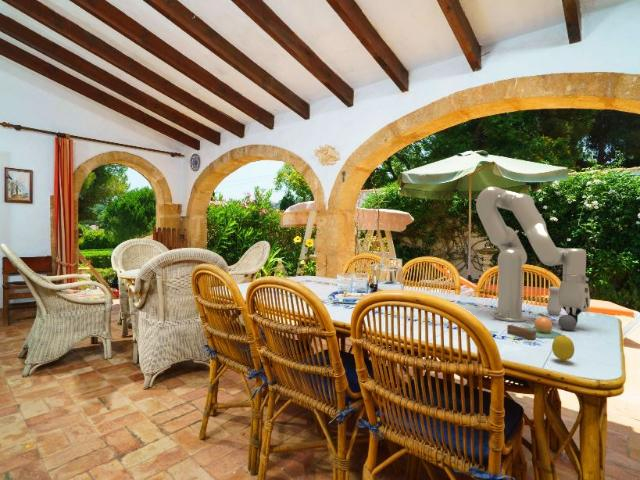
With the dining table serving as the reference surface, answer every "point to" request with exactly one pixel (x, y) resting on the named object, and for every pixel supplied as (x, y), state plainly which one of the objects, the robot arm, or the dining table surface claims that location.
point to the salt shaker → (553, 301)
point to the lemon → (563, 348)
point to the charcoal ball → (567, 322)
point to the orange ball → (543, 324)
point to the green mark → (545, 335)
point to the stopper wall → (521, 332)
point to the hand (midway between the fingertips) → (572, 324)
